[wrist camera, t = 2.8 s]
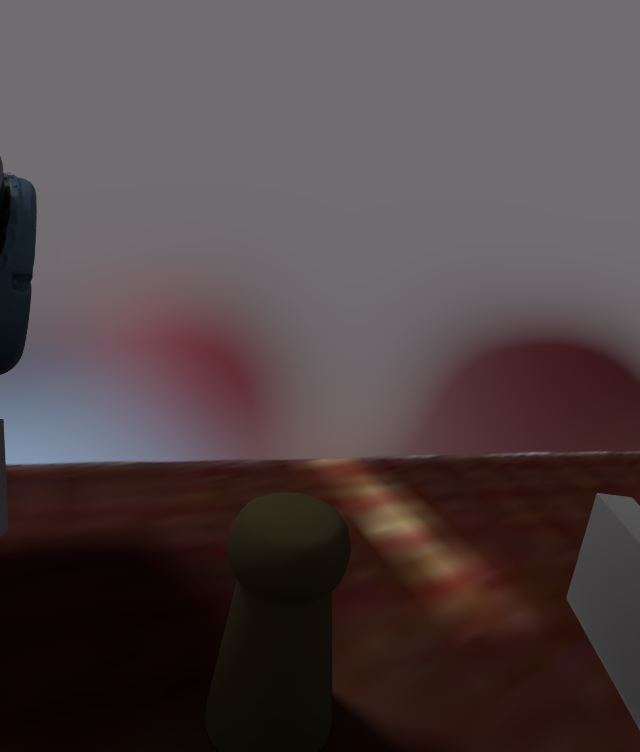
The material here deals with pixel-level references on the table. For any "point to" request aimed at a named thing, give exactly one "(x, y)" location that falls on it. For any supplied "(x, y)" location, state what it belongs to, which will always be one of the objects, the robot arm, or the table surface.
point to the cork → (278, 627)
